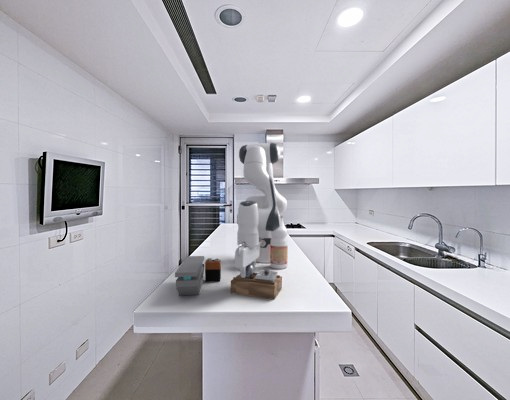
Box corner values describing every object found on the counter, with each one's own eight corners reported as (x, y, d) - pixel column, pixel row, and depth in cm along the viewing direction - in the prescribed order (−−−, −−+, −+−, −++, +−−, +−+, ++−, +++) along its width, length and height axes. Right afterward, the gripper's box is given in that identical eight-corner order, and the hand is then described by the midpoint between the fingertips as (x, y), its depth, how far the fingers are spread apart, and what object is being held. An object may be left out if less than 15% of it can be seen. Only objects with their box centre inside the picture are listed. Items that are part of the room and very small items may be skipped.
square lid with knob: (261, 276, 106) (261, 267, 106) (277, 277, 103) (277, 269, 103) (255, 281, 99) (255, 272, 99) (273, 283, 97) (273, 273, 97)
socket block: (242, 283, 111) (242, 270, 111) (281, 288, 106) (281, 274, 105) (230, 293, 100) (230, 278, 100) (274, 299, 94) (274, 284, 94)
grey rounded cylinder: (245, 287, 107) (245, 263, 107) (253, 288, 106) (254, 264, 105) (241, 290, 103) (241, 266, 103) (250, 291, 102) (250, 267, 102)
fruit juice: (278, 270, 131) (279, 216, 131) (266, 266, 138) (266, 215, 138) (291, 267, 137) (291, 215, 137) (278, 263, 144) (279, 214, 144)
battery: (206, 278, 117) (206, 257, 117) (220, 278, 118) (220, 257, 117) (204, 282, 113) (204, 259, 113) (220, 282, 113) (220, 259, 113)
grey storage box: (197, 301, 92) (197, 272, 92) (175, 302, 91) (175, 272, 91) (204, 279, 117) (204, 255, 117) (187, 279, 116) (187, 256, 116)
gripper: (245, 245, 93) (245, 282, 93) (262, 237, 112) (262, 267, 113) (230, 244, 95) (230, 280, 95) (249, 236, 114) (249, 266, 115)
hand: (247, 273), depth 104 cm, fingers open, 8 cm apart
